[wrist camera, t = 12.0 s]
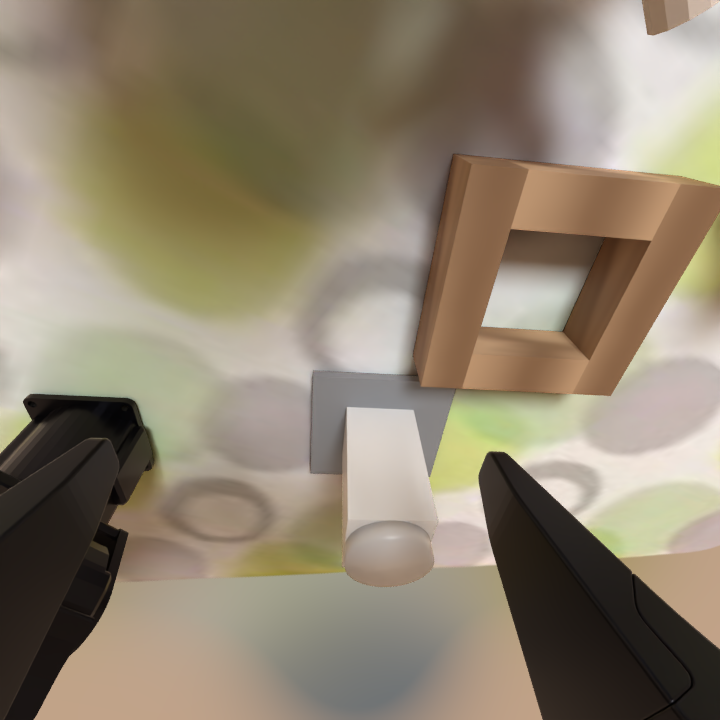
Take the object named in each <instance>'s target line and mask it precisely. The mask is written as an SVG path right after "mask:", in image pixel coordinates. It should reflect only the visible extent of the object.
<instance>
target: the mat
mask: <svg viewBox="0 0 720 720" xmlns="http://www.w3.org/2000/svg"><path fill="white" fill-rule="evenodd" d="M455 390H456V388H440V387H421V385H420V381H419V377H418V376H410V375H390V374H370V373H351V372H331V371H314V372H313V397H312V436H311V473H313V474H342V451H343V441H344V430H345V420H346V409H347V407H359V408H381V409H403V410H414V414H415V418H416V423H417V427H418V432H419V436H420V441H421V445H422V450H423V454H424V459H425V463H426V468H427V472H428V477H430V475H431V471H432V468H433V465H434V461H435V458H436V455H437V451H438V448H439V444H440V441H441V438H442V434H443V431H444V427H445V424H446V421H447V417H448V414H449V410H450V407H451V404H452V400H453V397H454V393H455Z"/></svg>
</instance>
